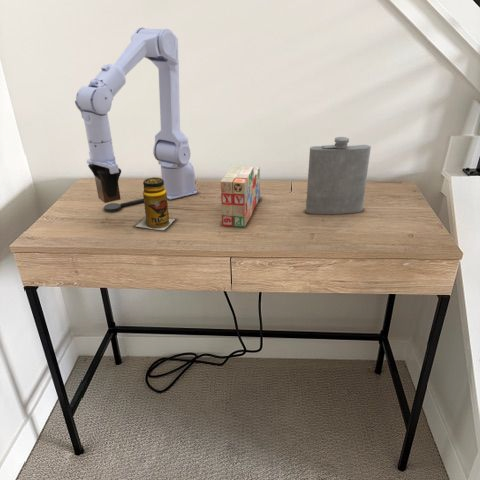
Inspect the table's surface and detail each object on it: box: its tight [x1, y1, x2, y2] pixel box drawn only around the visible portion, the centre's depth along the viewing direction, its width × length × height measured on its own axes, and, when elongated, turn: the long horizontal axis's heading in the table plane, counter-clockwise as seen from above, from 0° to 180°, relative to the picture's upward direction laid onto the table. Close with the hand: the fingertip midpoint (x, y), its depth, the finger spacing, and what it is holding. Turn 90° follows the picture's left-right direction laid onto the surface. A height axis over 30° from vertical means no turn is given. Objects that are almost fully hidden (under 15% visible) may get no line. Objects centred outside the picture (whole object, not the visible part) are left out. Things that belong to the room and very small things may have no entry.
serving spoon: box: [103, 197, 144, 213], centre depth 147 cm, size 16×5×1 cm, turn 124°
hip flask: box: [305, 136, 372, 215], centre depth 136 cm, size 16×4×20 cm, turn 94°
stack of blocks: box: [220, 165, 261, 228], centre depth 139 cm, size 21×6×12 cm, turn 167°
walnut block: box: [94, 175, 121, 204], centre depth 131 cm, size 4×4×6 cm
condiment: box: [134, 177, 176, 231], centre depth 133 cm, size 7×8×12 cm
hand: (108, 193), depth 132 cm, fingers closed on walnut block, 4 cm apart
